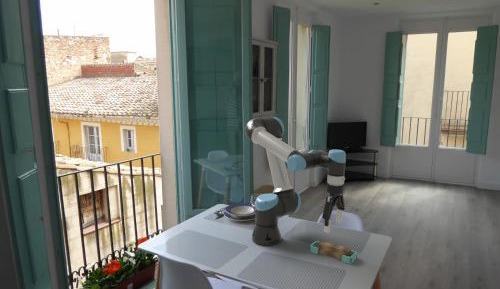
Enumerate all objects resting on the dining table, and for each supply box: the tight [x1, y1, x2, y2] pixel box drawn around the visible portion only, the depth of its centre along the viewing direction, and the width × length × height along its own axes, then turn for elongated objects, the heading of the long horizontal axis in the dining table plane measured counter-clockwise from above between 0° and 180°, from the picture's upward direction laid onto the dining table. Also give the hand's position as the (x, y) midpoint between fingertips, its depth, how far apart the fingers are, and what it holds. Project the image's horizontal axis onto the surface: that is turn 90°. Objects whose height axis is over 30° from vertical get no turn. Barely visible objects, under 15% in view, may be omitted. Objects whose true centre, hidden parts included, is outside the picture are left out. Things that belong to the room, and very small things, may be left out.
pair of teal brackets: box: [308, 240, 358, 265], centre depth 167 cm, size 21×8×3 cm, turn 54°
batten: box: [317, 240, 352, 260], centre depth 167 cm, size 15×4×5 cm, turn 57°
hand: (332, 227), depth 166 cm, fingers open, 13 cm apart
